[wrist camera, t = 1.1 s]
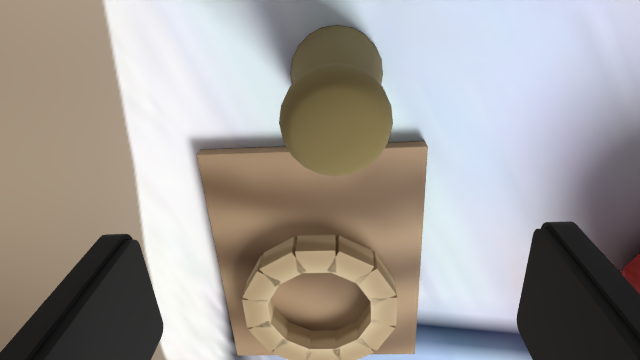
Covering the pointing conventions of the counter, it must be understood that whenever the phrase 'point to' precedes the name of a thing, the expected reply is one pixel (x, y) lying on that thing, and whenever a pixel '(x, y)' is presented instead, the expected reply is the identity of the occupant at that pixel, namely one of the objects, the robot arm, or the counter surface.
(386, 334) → the beech ring
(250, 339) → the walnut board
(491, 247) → the counter surface
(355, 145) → the cork
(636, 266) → the apple
